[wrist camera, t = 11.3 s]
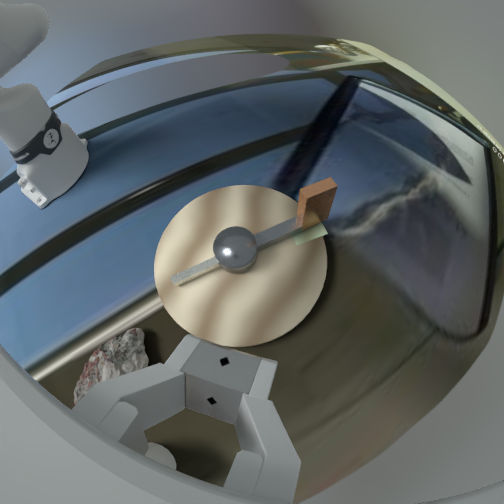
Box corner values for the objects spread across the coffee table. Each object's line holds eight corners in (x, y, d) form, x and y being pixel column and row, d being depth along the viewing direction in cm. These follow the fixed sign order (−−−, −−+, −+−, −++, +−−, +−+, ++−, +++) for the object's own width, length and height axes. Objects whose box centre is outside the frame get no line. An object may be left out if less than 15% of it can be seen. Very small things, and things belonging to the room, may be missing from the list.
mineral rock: (138, 321, 32) (121, 314, 28) (172, 371, 30) (157, 370, 26) (72, 378, 29) (52, 376, 25) (98, 425, 26) (79, 428, 22)
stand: (135, 314, 33) (129, 311, 31) (194, 180, 41) (192, 174, 40) (301, 368, 29) (302, 368, 27) (336, 209, 37) (339, 203, 36)
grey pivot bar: (180, 301, 31) (158, 282, 25) (168, 265, 33) (145, 240, 27) (334, 229, 34) (346, 198, 27) (314, 200, 36) (321, 166, 29)
